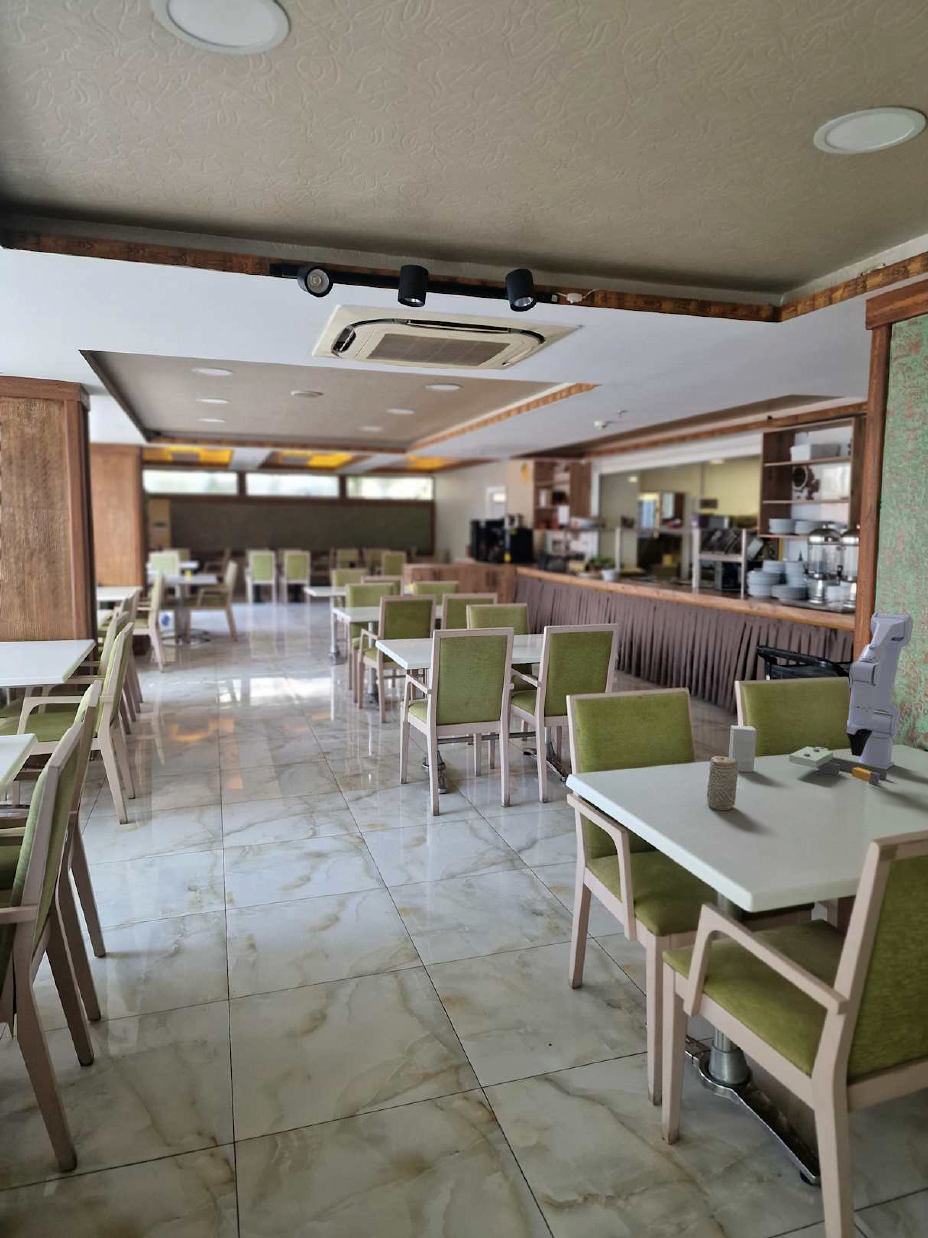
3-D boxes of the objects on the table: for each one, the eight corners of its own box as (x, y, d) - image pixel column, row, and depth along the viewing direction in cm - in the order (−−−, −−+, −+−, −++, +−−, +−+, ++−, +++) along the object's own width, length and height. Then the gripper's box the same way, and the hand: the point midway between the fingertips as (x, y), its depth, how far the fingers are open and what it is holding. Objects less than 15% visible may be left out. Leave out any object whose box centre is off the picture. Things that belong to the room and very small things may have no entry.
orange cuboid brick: (857, 775, 212) (858, 767, 212) (875, 782, 208) (876, 773, 207) (851, 776, 211) (852, 768, 211) (869, 783, 207) (870, 774, 206)
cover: (833, 769, 216) (835, 749, 215) (814, 780, 205) (816, 759, 205) (808, 763, 221) (810, 743, 220) (787, 774, 210) (789, 753, 209)
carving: (701, 807, 182) (704, 758, 180) (714, 800, 188) (717, 752, 186) (727, 815, 178) (731, 764, 176) (739, 807, 183) (743, 758, 182)
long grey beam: (828, 766, 220) (829, 755, 219) (886, 779, 210) (887, 768, 209) (818, 771, 214) (819, 761, 214) (877, 785, 204) (878, 774, 203)
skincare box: (749, 767, 215) (752, 726, 214) (753, 772, 211) (757, 730, 209) (727, 766, 216) (730, 724, 214) (730, 771, 211) (734, 728, 210)
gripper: (869, 713, 198) (863, 764, 200) (885, 705, 208) (880, 753, 210) (840, 708, 203) (835, 757, 205) (858, 700, 213) (853, 747, 215)
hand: (856, 755), depth 208 cm, fingers closed
